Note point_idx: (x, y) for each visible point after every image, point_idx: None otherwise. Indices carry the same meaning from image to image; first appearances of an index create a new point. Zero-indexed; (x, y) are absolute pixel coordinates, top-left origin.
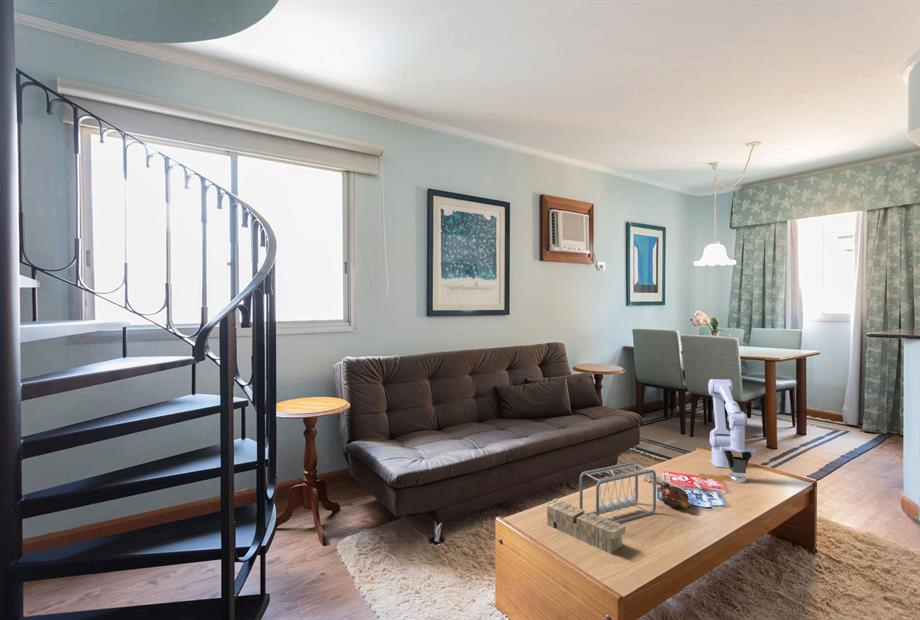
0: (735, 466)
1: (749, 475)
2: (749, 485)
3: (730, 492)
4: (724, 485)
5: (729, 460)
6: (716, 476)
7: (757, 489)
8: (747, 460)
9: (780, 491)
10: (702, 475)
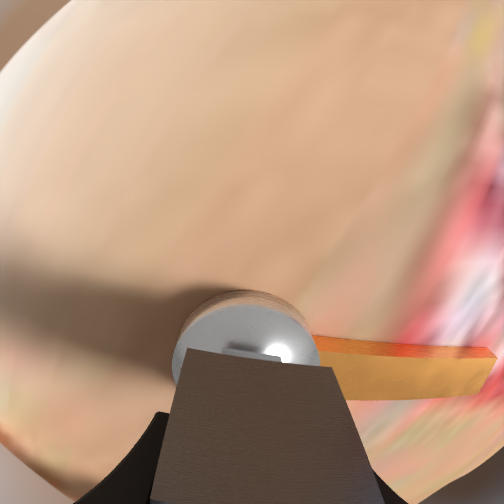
0: (329, 424)
1: (102, 416)
2: (201, 236)
3: (462, 98)
4: (433, 237)
5: (398, 496)
6: (417, 368)
7: (181, 136)
8: (111, 498)
9: (22, 118)
10: (483, 367)
